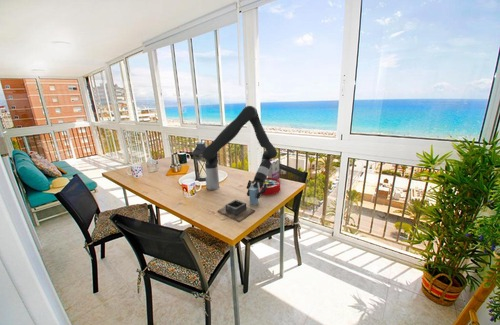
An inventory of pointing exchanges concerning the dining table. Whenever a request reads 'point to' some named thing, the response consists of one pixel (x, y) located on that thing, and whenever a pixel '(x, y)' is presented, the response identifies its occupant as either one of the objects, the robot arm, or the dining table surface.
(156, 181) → the dining table surface
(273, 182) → the toy clock
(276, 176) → the candy bar box
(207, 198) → the dining table surface
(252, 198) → the light blue square peg
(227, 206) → the cradle jig
